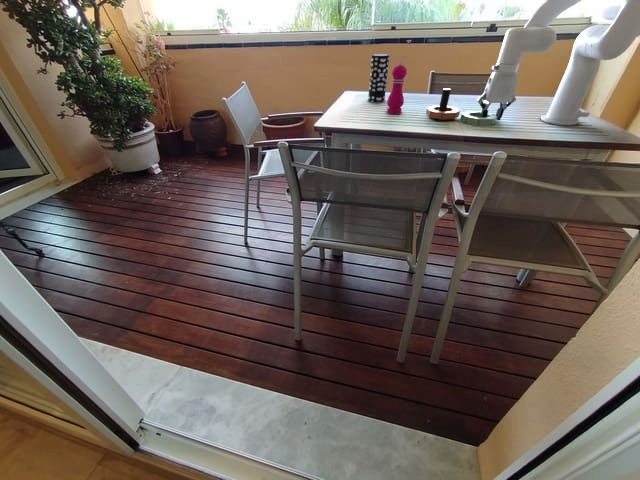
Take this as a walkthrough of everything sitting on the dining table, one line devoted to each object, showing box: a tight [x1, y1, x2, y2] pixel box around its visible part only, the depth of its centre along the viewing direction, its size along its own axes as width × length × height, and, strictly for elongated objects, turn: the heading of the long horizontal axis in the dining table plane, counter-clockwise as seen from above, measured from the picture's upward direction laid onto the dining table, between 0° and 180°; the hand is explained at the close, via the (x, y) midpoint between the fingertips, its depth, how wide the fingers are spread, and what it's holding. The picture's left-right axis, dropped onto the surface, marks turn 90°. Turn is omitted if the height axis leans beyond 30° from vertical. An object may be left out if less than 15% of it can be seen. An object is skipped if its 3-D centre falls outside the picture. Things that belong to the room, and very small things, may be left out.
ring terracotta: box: [425, 105, 461, 120], centre depth 125 cm, size 12×12×2 cm
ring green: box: [459, 110, 497, 127], centre depth 121 cm, size 12×12×2 cm
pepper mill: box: [386, 60, 408, 115], centre depth 127 cm, size 7×7×20 cm
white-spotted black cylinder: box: [367, 53, 390, 103], centre depth 146 cm, size 8×8×20 cm
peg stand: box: [430, 87, 455, 121], centre depth 123 cm, size 8×8×11 cm
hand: (490, 119), depth 121 cm, fingers open, 5 cm apart
